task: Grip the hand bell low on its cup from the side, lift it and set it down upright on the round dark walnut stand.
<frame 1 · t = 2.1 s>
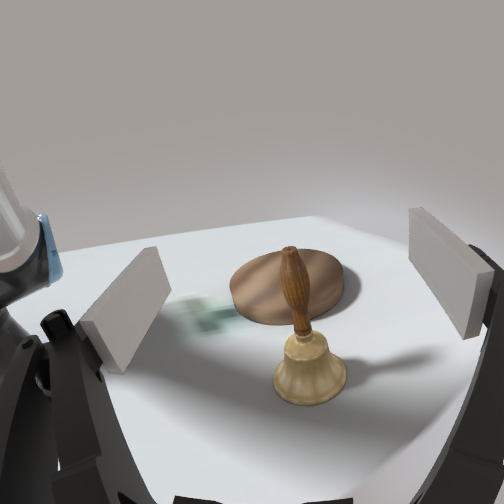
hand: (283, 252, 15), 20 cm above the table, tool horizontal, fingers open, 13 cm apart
hand bell: (309, 378, 32), on the table
walnut stand: (288, 289, 49), on the table
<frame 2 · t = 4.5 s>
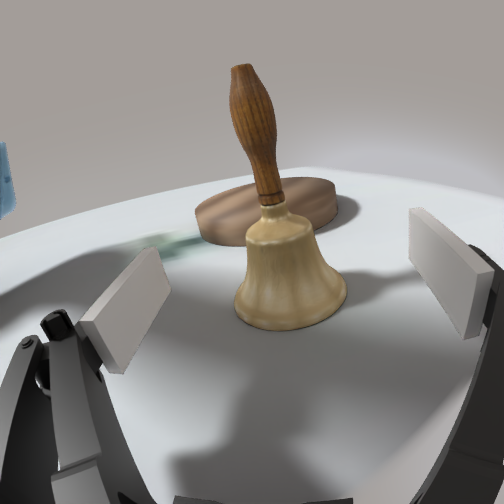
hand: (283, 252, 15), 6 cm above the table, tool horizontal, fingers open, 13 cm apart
hand bell: (290, 297, 22), on the table
walnut stand: (268, 216, 40), on the table
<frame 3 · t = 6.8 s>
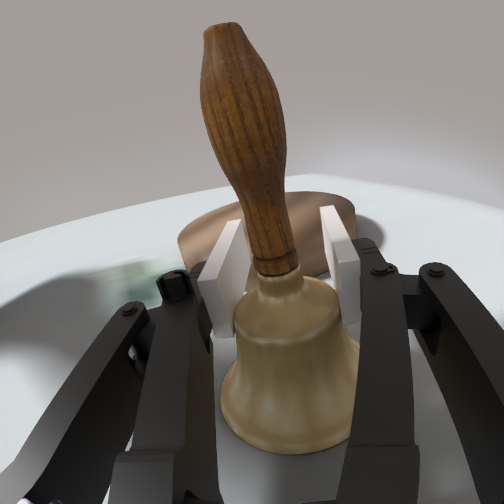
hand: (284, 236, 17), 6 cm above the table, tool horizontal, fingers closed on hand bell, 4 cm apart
hand bell: (300, 388, 14), on the table, touching gripper
walnut stand: (269, 243, 32), on the table
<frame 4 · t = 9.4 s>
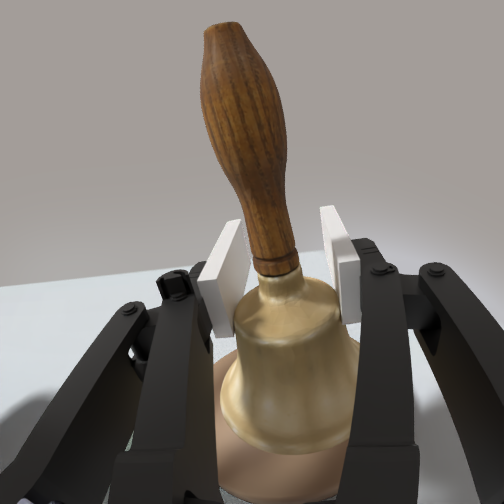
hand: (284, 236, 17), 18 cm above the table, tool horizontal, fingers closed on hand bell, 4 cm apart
hand bell: (300, 389, 14), point 11 cm above the table, touching gripper
walnut stand: (289, 419, 24), on the table
when the fingers open (10 cm above the table, at t = 12.2 s): hand bell drops 1 cm, resting on walnut stand.
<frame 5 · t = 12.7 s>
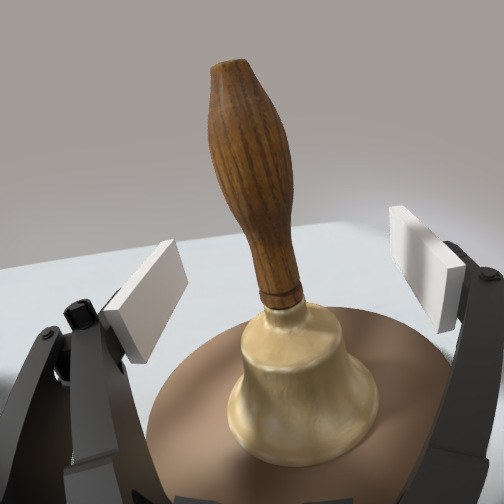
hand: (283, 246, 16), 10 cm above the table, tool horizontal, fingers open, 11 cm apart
hand bell: (302, 404, 15), point 3 cm above the table, touching walnut stand
walnut stand: (306, 429, 16), on the table
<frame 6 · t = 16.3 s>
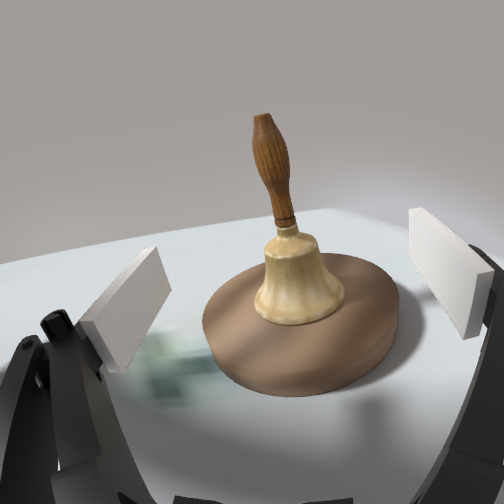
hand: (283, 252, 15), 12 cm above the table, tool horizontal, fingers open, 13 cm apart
hand bell: (299, 299, 27), point 3 cm above the table, touching walnut stand
walnut stand: (303, 323, 29), on the table
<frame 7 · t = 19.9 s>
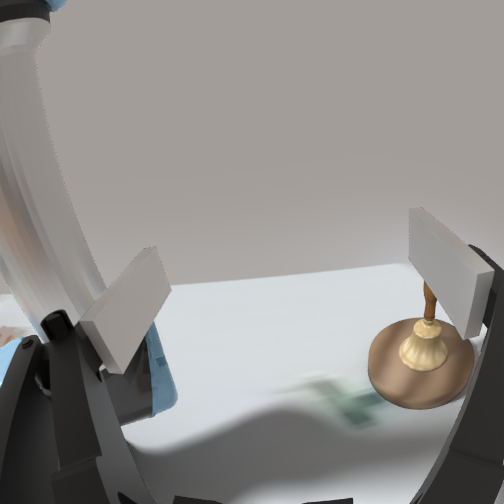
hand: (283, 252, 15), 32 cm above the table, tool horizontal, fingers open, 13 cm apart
hand bell: (423, 353, 40), point 3 cm above the table, touching walnut stand
walnut stand: (420, 365, 41), on the table
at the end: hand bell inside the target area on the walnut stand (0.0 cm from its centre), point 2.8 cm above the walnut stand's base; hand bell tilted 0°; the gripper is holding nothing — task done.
